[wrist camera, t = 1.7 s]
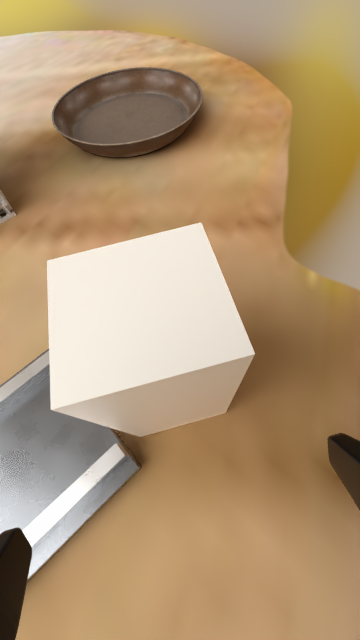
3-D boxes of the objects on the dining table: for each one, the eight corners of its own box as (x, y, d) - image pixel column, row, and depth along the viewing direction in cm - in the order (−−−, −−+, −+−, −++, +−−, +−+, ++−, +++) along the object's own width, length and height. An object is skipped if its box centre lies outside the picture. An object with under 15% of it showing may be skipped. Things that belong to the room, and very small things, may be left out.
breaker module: (225, 413, 20) (255, 354, 8) (140, 437, 20) (50, 409, 8) (199, 331, 23) (194, 206, 12) (126, 350, 23) (46, 242, 11)
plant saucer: (111, 83, 46) (104, 57, 43) (224, 100, 40) (225, 72, 38) (33, 153, 38) (19, 127, 35) (161, 185, 33) (156, 158, 30)
